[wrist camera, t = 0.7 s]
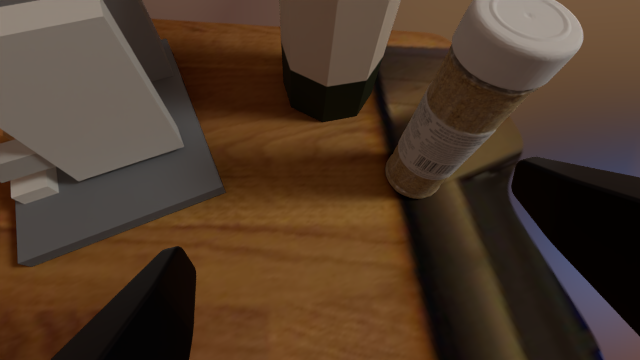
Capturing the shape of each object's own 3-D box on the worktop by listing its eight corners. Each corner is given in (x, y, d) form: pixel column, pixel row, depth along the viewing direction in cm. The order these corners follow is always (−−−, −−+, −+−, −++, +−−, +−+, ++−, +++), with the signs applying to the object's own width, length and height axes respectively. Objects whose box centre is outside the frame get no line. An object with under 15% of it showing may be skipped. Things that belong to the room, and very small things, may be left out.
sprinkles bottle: (446, 168, 24) (597, 8, 12) (426, 211, 22) (581, 71, 10) (397, 142, 25) (491, -32, 13) (373, 181, 23) (457, 19, 11)
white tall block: (184, 146, 21) (103, 16, 12) (26, 198, 19) (-219, 79, 10) (177, 126, 22) (96, -10, 13) (25, 173, 19) (-204, 42, 10)
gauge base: (225, 192, 21) (155, 57, 11) (31, 266, 18) (-346, 178, 7) (170, 47, 28) (92, -125, 17) (20, 83, 25) (-190, -103, 14)
